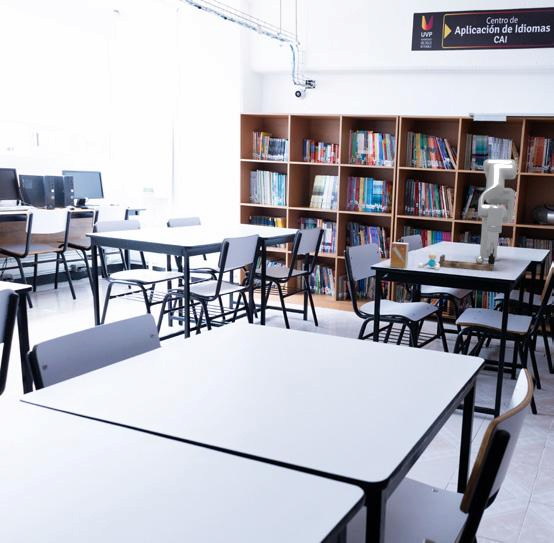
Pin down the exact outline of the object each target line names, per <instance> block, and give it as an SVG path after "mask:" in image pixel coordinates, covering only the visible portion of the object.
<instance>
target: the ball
mask: <svg viewBox="0 0 554 543" xmlns="http://www.w3.org/2000/svg"><path fill="white" fill-rule="evenodd" d="M475 263H477V264H482V263H485V260H484V258H483V257H482V256H480V255H478V256H477V257H475Z"/></svg>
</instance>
